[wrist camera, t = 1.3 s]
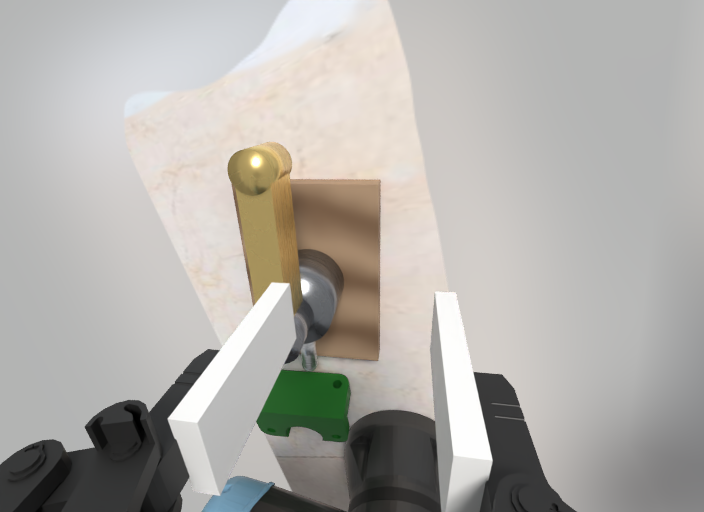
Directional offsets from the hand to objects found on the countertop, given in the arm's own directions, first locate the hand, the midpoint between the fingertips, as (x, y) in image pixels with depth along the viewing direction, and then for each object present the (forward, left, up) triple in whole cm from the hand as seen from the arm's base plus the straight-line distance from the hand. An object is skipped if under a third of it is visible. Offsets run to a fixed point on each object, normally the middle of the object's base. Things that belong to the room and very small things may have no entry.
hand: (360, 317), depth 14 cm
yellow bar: (-3, +8, -13) cm, 15 cm away
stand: (-9, +8, -21) cm, 24 cm away
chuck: (-12, +8, -19) cm, 24 cm away
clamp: (-27, +10, -21) cm, 36 cm away
